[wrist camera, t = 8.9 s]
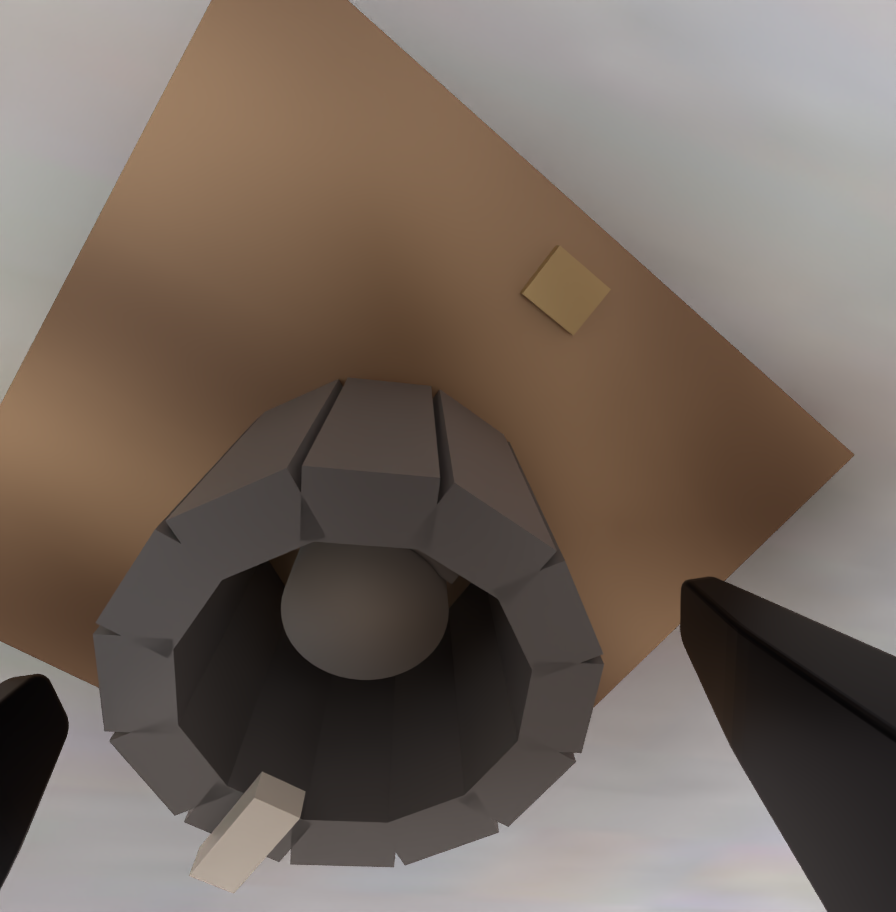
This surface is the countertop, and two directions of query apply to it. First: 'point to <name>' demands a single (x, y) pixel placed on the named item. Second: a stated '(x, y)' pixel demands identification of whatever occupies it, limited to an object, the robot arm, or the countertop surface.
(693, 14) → the countertop surface
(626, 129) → the countertop surface
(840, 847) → the robot arm
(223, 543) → the gray faceted pot
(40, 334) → the square brown plate
